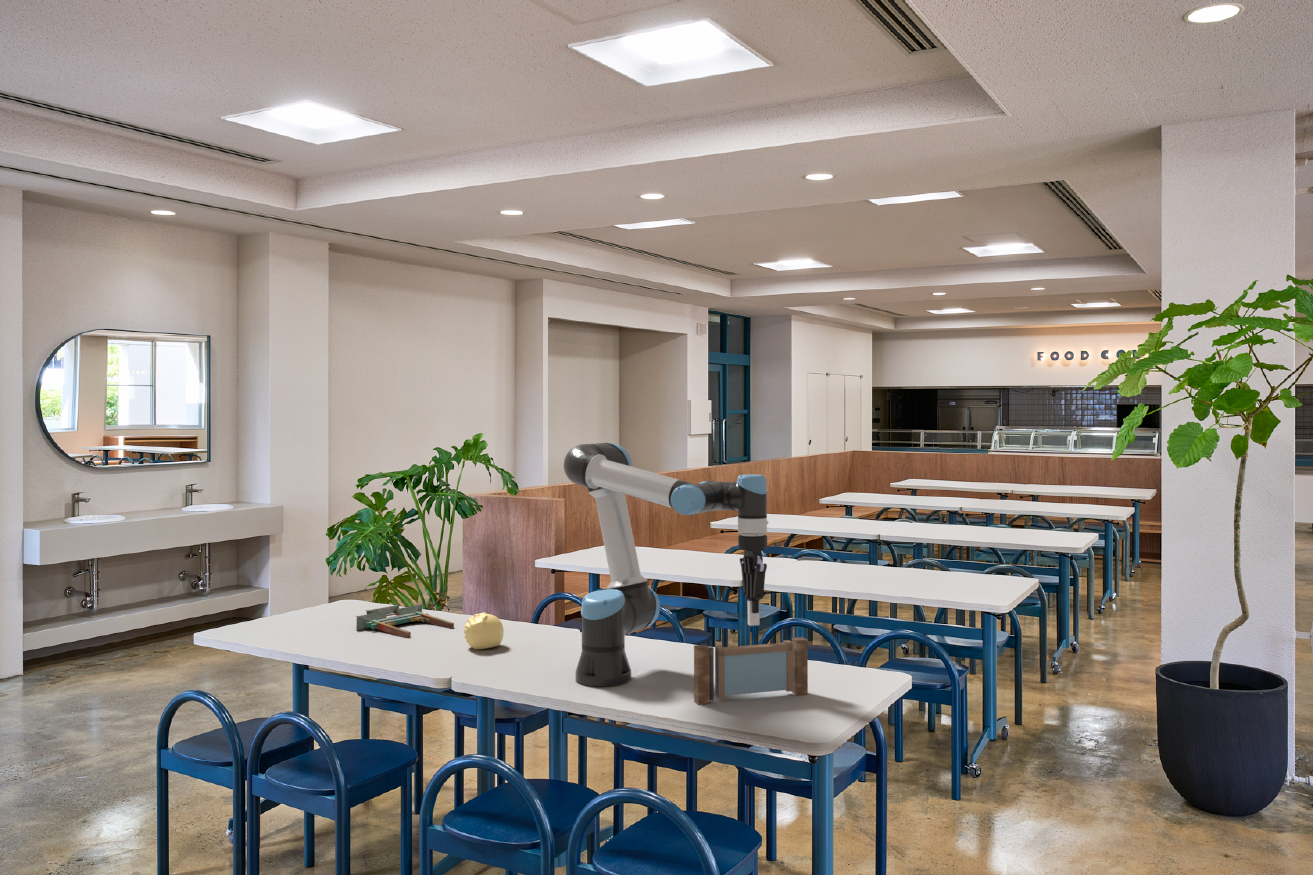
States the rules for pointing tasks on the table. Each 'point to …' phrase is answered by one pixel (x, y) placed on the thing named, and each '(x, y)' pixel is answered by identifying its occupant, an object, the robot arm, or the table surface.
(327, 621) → the table surface
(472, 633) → the sculpture
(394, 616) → the miniature gate
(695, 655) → the gate posts
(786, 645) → the gate leaf
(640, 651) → the table surface
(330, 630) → the table surface
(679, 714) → the table surface
